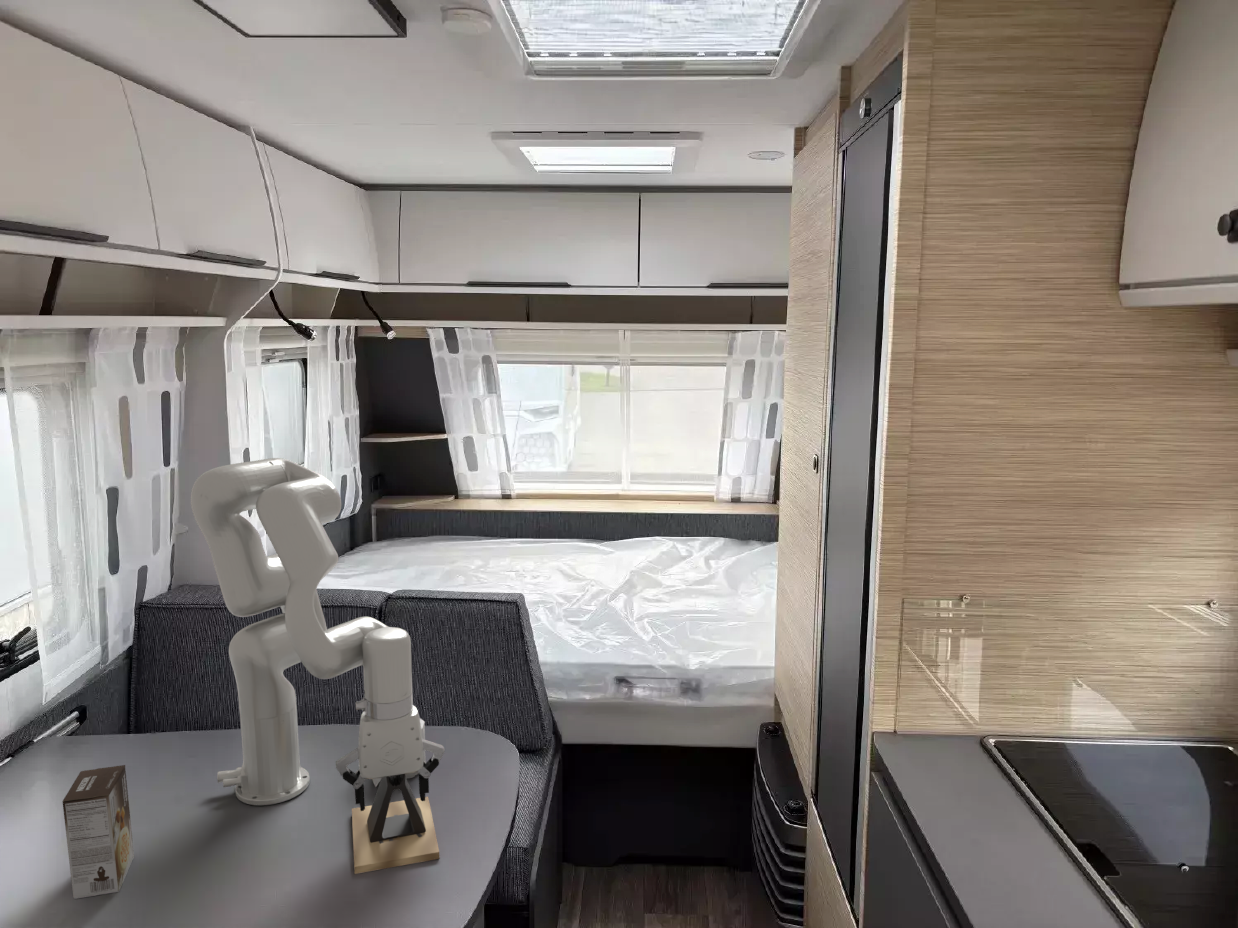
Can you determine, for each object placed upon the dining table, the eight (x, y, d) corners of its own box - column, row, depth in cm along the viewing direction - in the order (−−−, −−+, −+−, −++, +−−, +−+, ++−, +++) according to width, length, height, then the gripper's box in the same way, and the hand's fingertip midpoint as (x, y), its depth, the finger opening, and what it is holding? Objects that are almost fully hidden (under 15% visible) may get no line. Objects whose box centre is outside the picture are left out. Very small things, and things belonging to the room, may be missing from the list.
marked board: (354, 873, 135) (354, 866, 135) (352, 814, 151) (351, 808, 151) (439, 858, 139) (439, 851, 139) (428, 802, 155) (428, 796, 155)
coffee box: (89, 863, 137) (80, 768, 134) (135, 856, 139) (126, 763, 136) (71, 900, 128) (61, 800, 126) (120, 892, 130) (110, 793, 128)
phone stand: (369, 842, 141) (366, 774, 139) (367, 822, 147) (364, 756, 145) (426, 832, 144) (423, 765, 142) (421, 812, 150) (419, 748, 148)
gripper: (333, 721, 135) (338, 822, 138) (445, 707, 140) (448, 805, 143) (332, 701, 142) (337, 798, 145) (440, 688, 147) (442, 782, 150)
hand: (392, 801), depth 144 cm, fingers open, 9 cm apart
